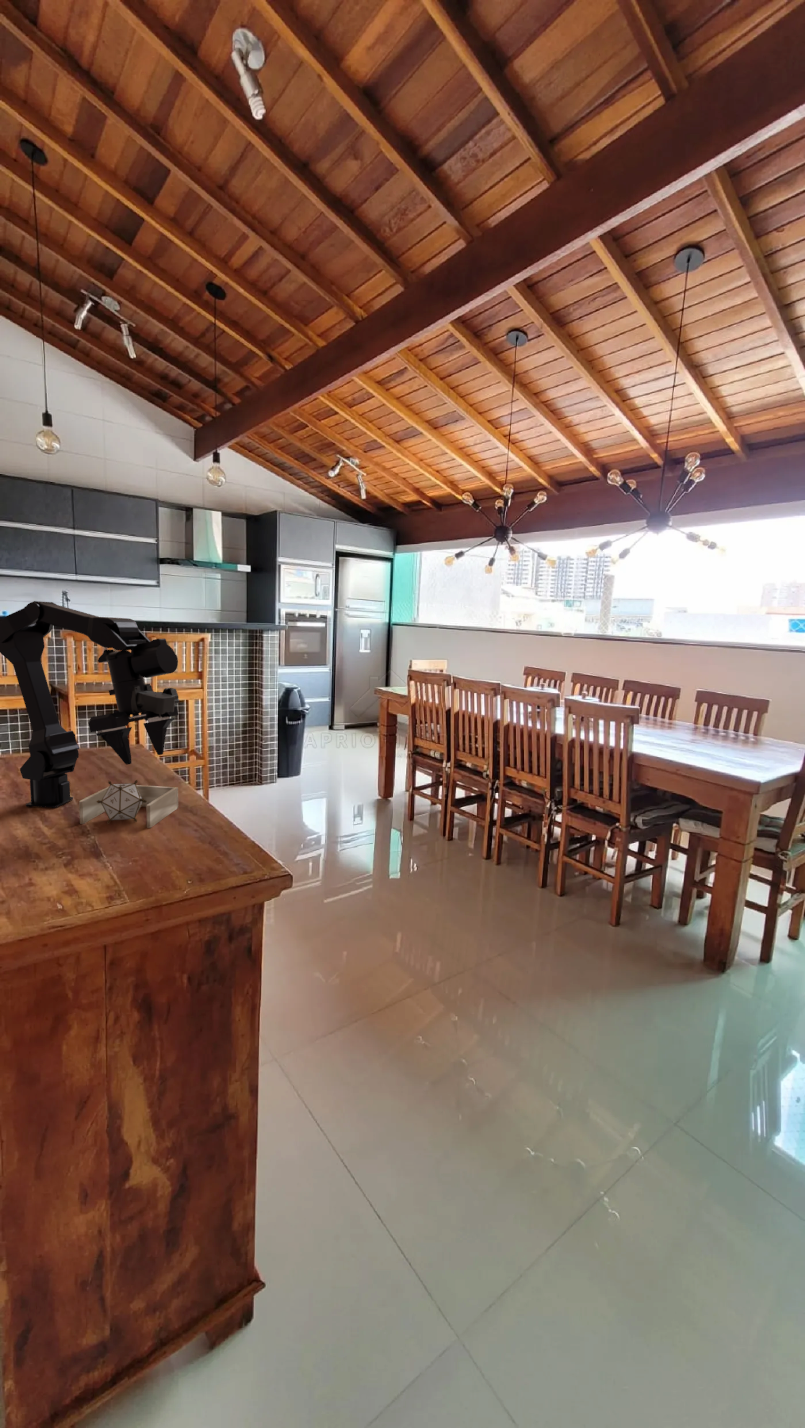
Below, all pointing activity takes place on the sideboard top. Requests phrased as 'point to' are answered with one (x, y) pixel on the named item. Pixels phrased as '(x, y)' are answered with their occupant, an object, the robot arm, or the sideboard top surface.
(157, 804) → the cubby
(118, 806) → the game die
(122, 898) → the sideboard top surface
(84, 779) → the sideboard top surface
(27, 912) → the sideboard top surface
